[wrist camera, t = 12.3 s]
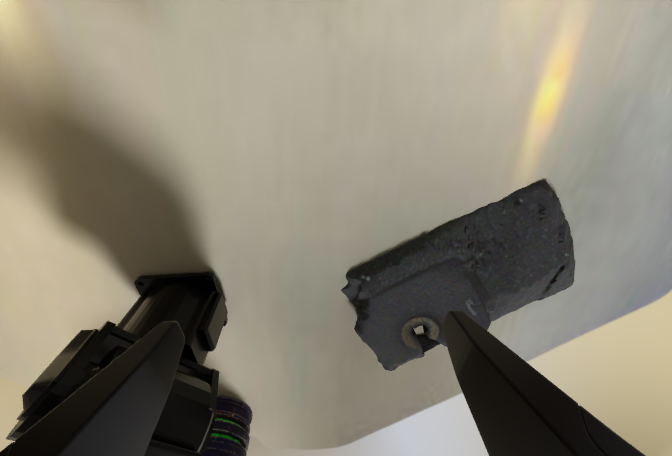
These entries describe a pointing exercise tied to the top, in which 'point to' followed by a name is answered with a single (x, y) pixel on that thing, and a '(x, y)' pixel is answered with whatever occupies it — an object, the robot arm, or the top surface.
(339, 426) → the top surface
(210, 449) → the storage jar
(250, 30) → the top surface
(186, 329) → the robot arm
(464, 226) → the dark slate chunk
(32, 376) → the top surface
